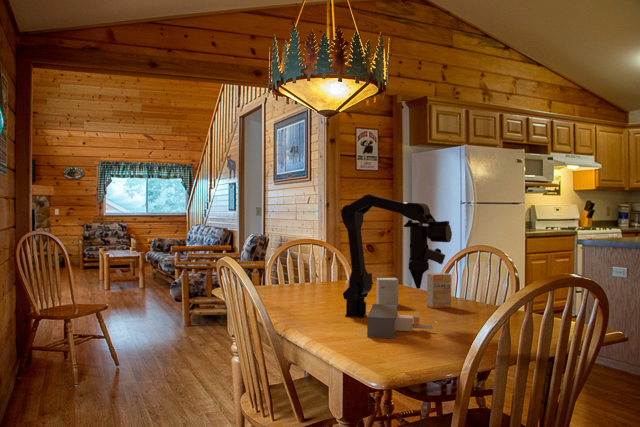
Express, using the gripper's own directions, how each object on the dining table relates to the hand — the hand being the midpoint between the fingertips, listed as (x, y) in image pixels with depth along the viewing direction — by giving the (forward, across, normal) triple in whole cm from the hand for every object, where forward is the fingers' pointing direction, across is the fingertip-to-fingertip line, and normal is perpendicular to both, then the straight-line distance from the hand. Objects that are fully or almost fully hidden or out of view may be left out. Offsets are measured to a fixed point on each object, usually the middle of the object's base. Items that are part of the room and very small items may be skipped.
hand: (418, 288), depth 158 cm
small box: (+12, +31, +12) cm, 35 cm away
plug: (+11, -9, +1) cm, 15 cm away
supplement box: (+12, +31, -8) cm, 34 cm away
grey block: (+12, -9, +11) cm, 18 cm away
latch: (+9, -9, +1) cm, 13 cm away
